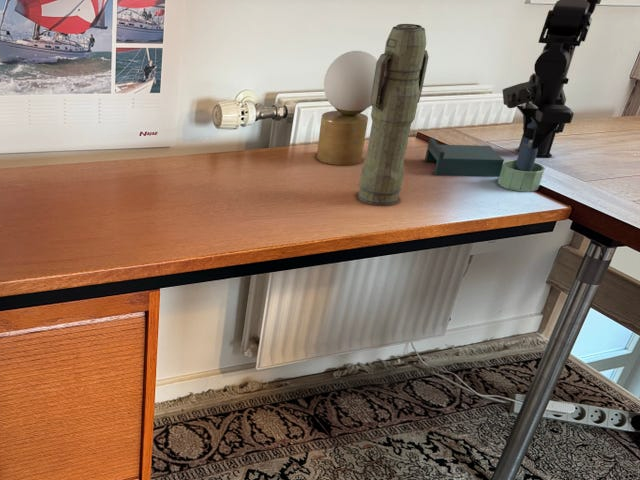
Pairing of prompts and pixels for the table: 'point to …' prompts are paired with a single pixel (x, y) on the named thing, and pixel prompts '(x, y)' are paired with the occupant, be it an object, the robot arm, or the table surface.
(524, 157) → the vaping device
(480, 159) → the dark green stepped platform
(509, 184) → the green bowl
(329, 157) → the lamp
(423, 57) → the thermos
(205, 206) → the table surface
